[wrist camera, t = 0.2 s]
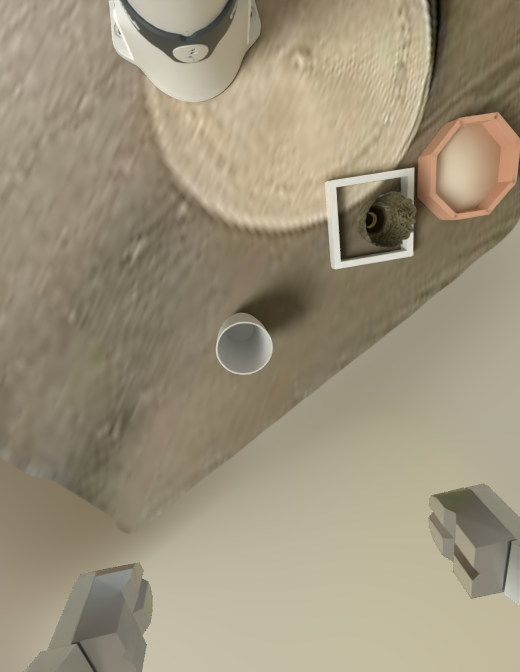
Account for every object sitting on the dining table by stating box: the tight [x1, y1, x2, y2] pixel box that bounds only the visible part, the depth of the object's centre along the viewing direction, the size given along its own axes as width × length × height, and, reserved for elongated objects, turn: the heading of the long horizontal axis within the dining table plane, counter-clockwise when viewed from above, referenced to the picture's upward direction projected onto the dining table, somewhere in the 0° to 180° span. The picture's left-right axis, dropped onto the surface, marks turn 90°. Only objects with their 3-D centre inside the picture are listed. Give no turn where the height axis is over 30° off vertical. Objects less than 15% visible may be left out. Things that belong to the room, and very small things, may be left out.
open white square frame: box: [325, 168, 414, 269], centre depth 52 cm, size 13×13×2 cm
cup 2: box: [357, 191, 417, 249], centre depth 49 cm, size 8×7×8 cm
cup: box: [216, 313, 273, 374], centre depth 52 cm, size 8×8×10 cm
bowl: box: [417, 112, 520, 220], centre depth 50 cm, size 14×14×4 cm
